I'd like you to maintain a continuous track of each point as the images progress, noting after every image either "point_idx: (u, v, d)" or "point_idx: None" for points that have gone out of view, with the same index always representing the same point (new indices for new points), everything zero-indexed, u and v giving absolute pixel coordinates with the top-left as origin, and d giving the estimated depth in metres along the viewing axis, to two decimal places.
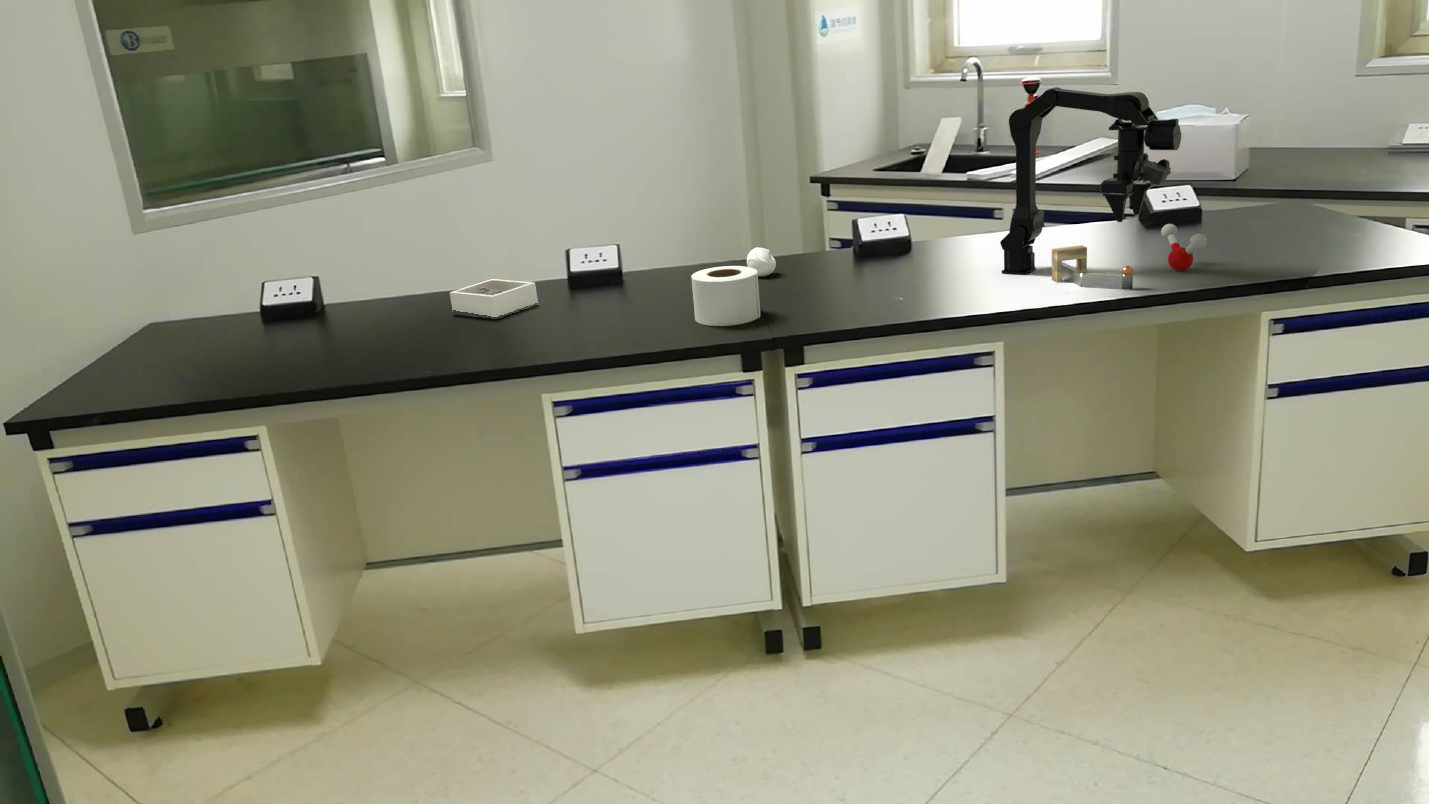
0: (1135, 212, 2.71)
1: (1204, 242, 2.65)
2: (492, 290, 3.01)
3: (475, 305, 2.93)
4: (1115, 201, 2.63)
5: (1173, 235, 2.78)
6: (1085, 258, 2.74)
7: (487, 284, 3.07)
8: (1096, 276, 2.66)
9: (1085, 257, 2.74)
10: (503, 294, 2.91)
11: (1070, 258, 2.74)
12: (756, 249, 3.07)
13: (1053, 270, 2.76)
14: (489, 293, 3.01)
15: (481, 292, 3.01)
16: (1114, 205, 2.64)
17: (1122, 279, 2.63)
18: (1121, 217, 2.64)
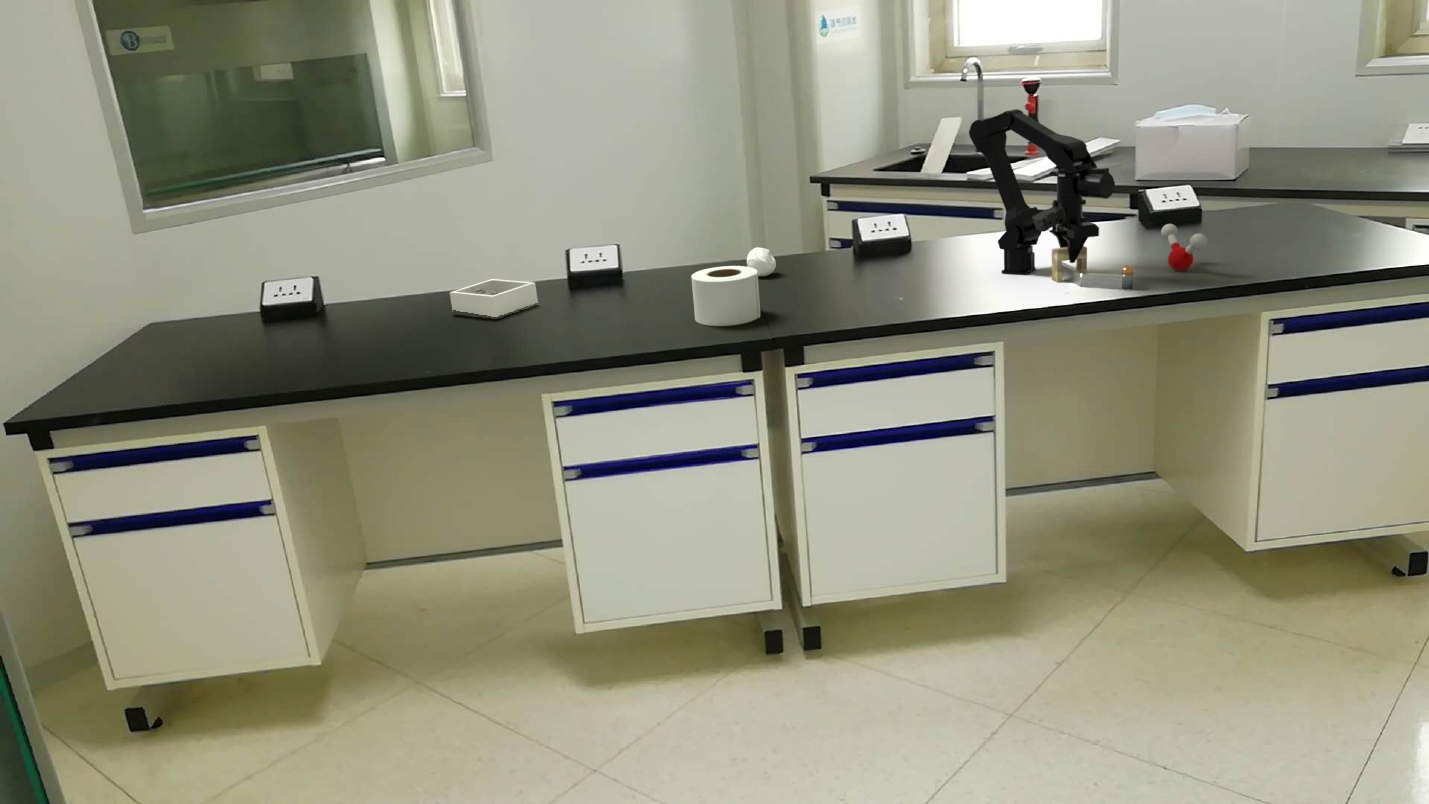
0: None
1: (1204, 242, 2.65)
2: (488, 291, 3.00)
3: (475, 305, 2.93)
4: None
5: (1173, 235, 2.78)
6: (1085, 258, 2.74)
7: (487, 284, 3.07)
8: (1096, 276, 2.66)
9: (1085, 257, 2.74)
10: (503, 294, 2.91)
11: None
12: (756, 249, 3.07)
13: (1053, 270, 2.76)
14: None
15: None
16: None
17: (1122, 279, 2.63)
18: None
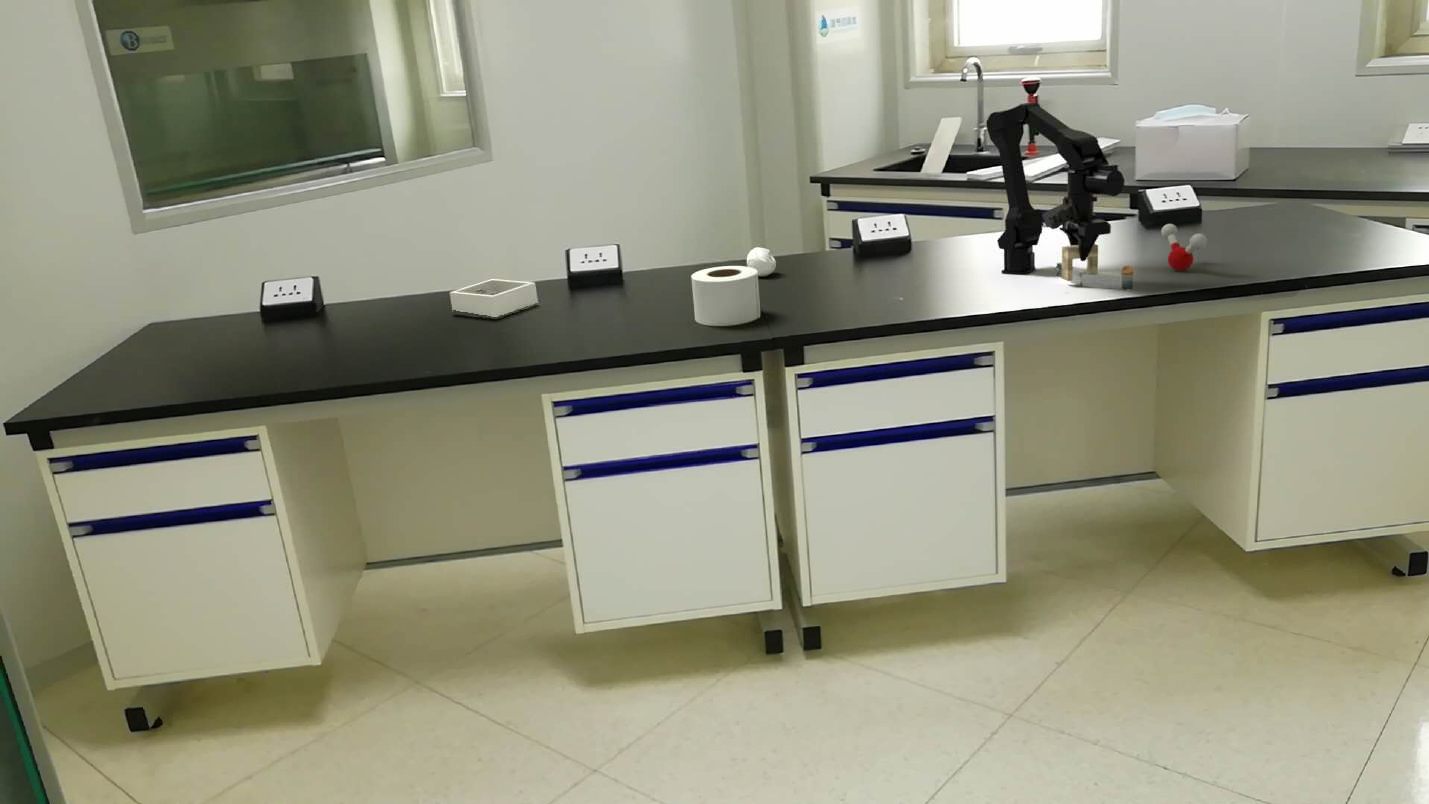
0: None
1: (1204, 242, 2.65)
2: (489, 292, 3.00)
3: (475, 305, 2.93)
4: None
5: (1173, 235, 2.78)
6: (1096, 256, 2.69)
7: (487, 284, 3.07)
8: (1096, 276, 2.66)
9: (1096, 255, 2.69)
10: (503, 294, 2.91)
11: None
12: (756, 249, 3.07)
13: (1064, 269, 2.70)
14: None
15: None
16: None
17: (1122, 279, 2.63)
18: None
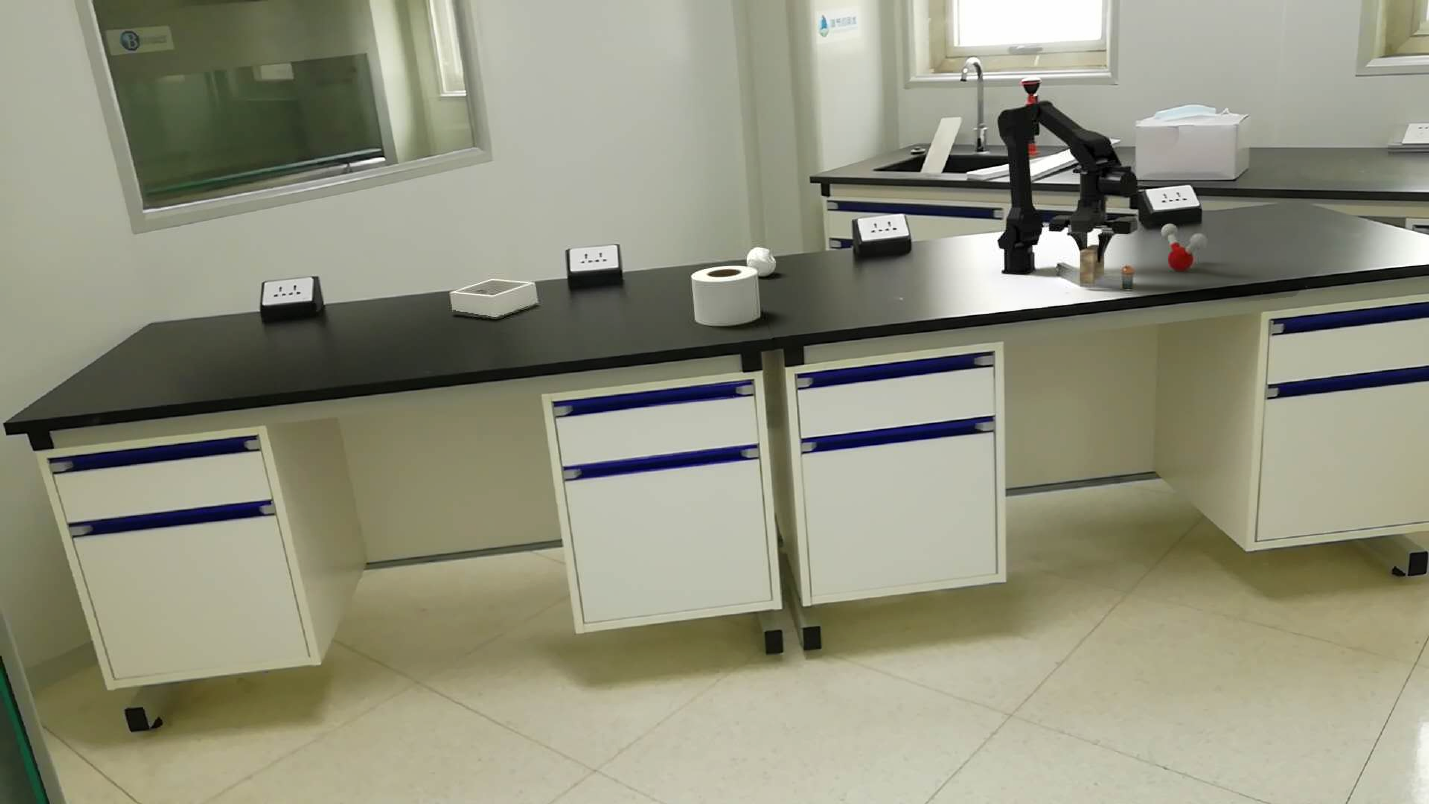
0: None
1: (1204, 242, 2.65)
2: (489, 292, 3.00)
3: (475, 305, 2.93)
4: None
5: (1173, 235, 2.78)
6: (1103, 256, 2.68)
7: (487, 284, 3.07)
8: (1096, 276, 2.66)
9: (1103, 255, 2.68)
10: (503, 294, 2.91)
11: None
12: (756, 249, 3.07)
13: (1085, 273, 2.65)
14: None
15: None
16: None
17: (1122, 279, 2.63)
18: None
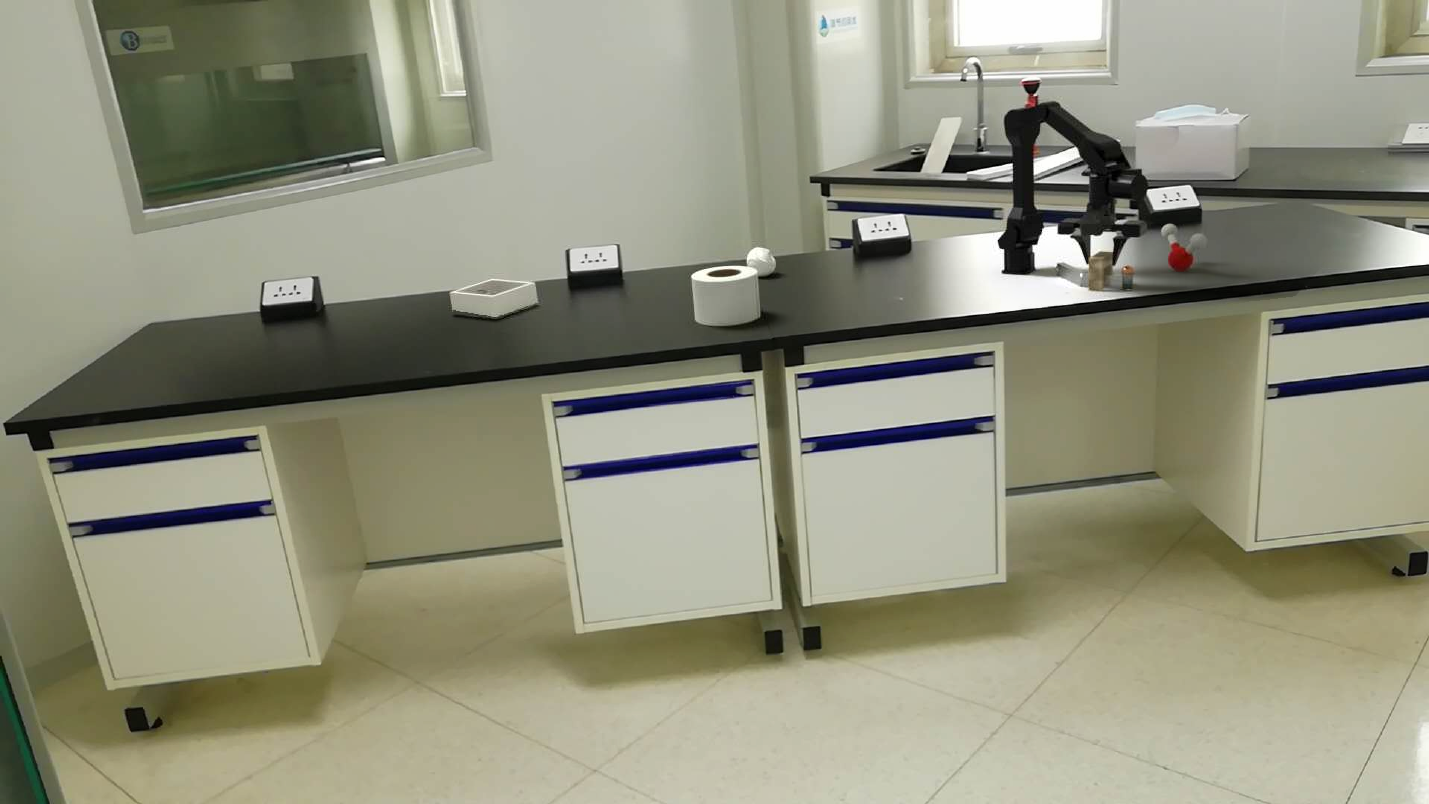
0: None
1: (1204, 242, 2.65)
2: (490, 292, 3.00)
3: (475, 305, 2.93)
4: None
5: (1173, 235, 2.78)
6: None
7: (487, 284, 3.07)
8: None
9: None
10: (503, 294, 2.91)
11: (1106, 264, 2.65)
12: (756, 249, 3.07)
13: (1094, 280, 2.64)
14: None
15: None
16: None
17: (1122, 279, 2.63)
18: (1085, 259, 2.67)
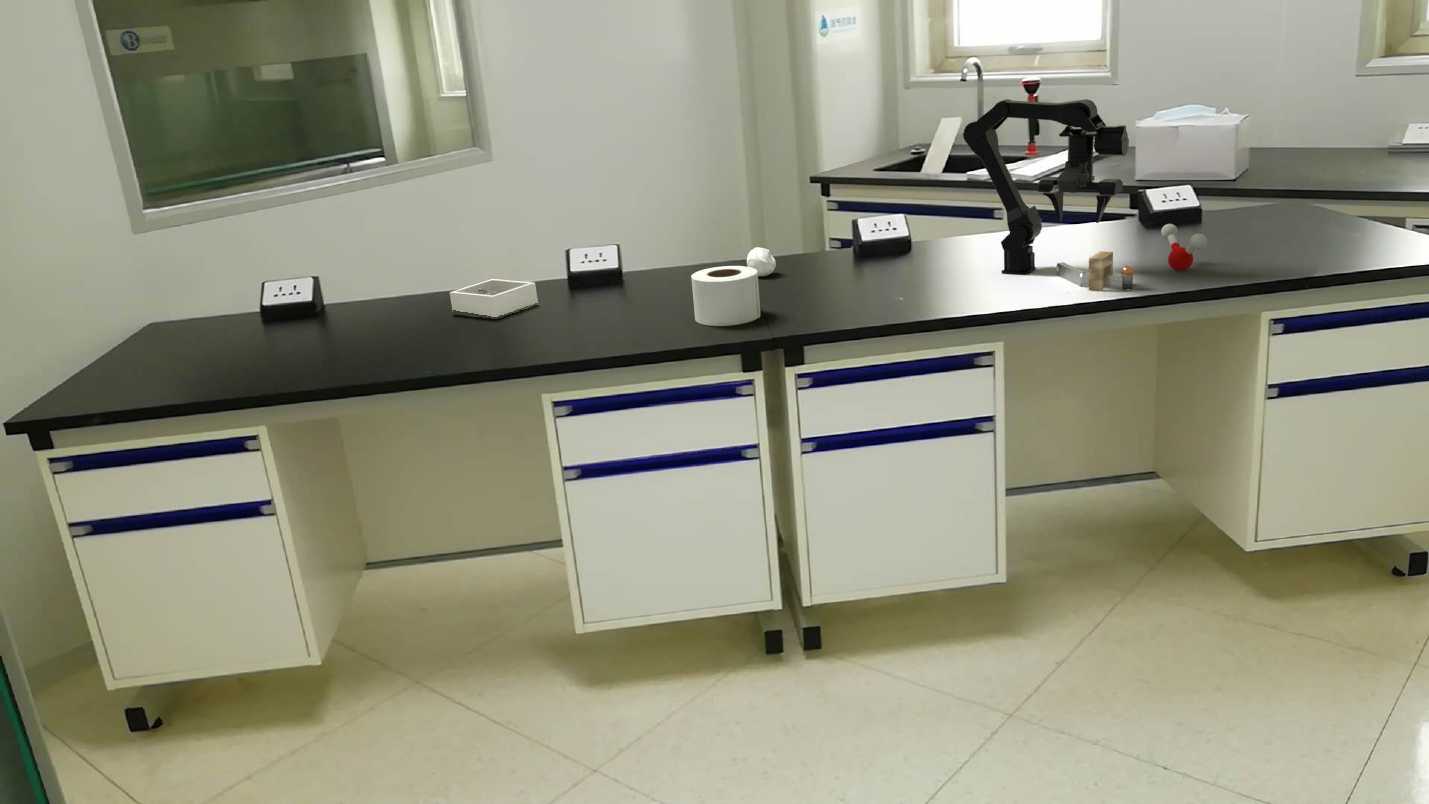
0: None
1: (1204, 242, 2.65)
2: (490, 292, 3.00)
3: (475, 305, 2.93)
4: None
5: (1173, 235, 2.78)
6: (1112, 263, 2.68)
7: (487, 284, 3.07)
8: None
9: (1112, 262, 2.68)
10: (503, 294, 2.91)
11: (1106, 264, 2.65)
12: (756, 249, 3.07)
13: (1094, 280, 2.64)
14: None
15: (479, 293, 2.99)
16: None
17: (1122, 279, 2.63)
18: None
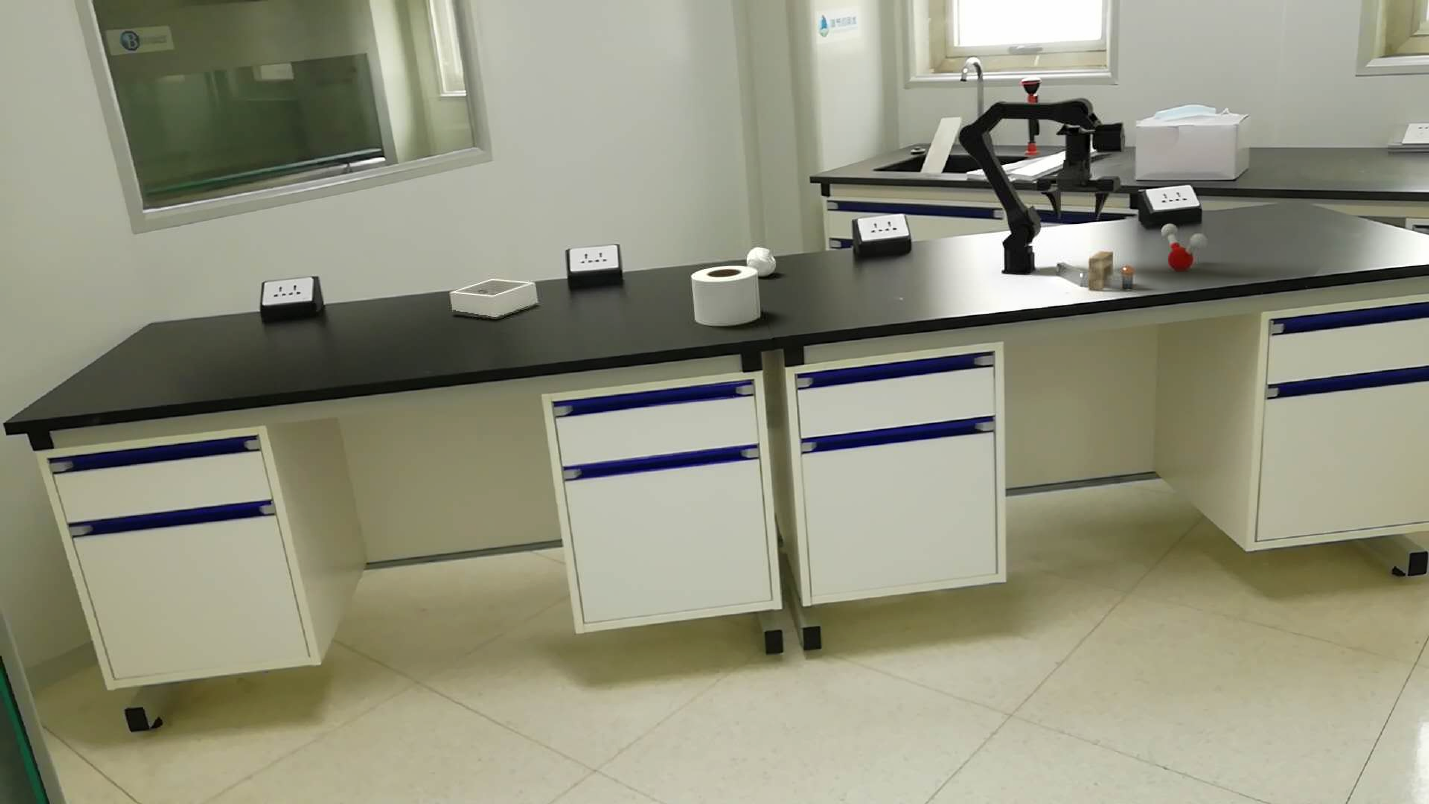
0: None
1: (1204, 242, 2.65)
2: (490, 292, 3.00)
3: (475, 305, 2.93)
4: None
5: (1173, 235, 2.78)
6: (1112, 263, 2.68)
7: (487, 284, 3.07)
8: None
9: (1112, 262, 2.68)
10: (503, 294, 2.91)
11: (1106, 264, 2.65)
12: (756, 249, 3.07)
13: (1094, 280, 2.64)
14: None
15: None
16: None
17: (1122, 279, 2.63)
18: (1055, 214, 2.80)
